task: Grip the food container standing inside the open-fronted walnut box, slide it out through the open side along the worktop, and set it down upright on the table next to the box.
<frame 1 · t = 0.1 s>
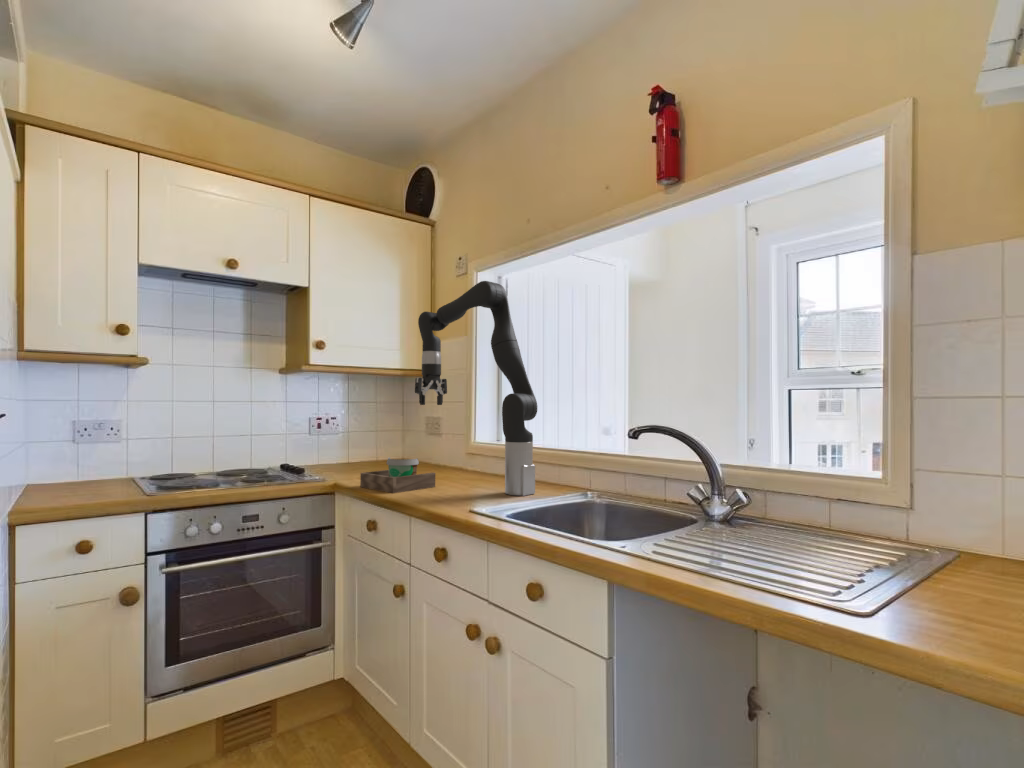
hand: (431, 404, 210), 29 cm above the counter, fingers open, 8 cm apart
walnut box: (399, 486, 193), on the counter
food container: (399, 487, 193), on the counter
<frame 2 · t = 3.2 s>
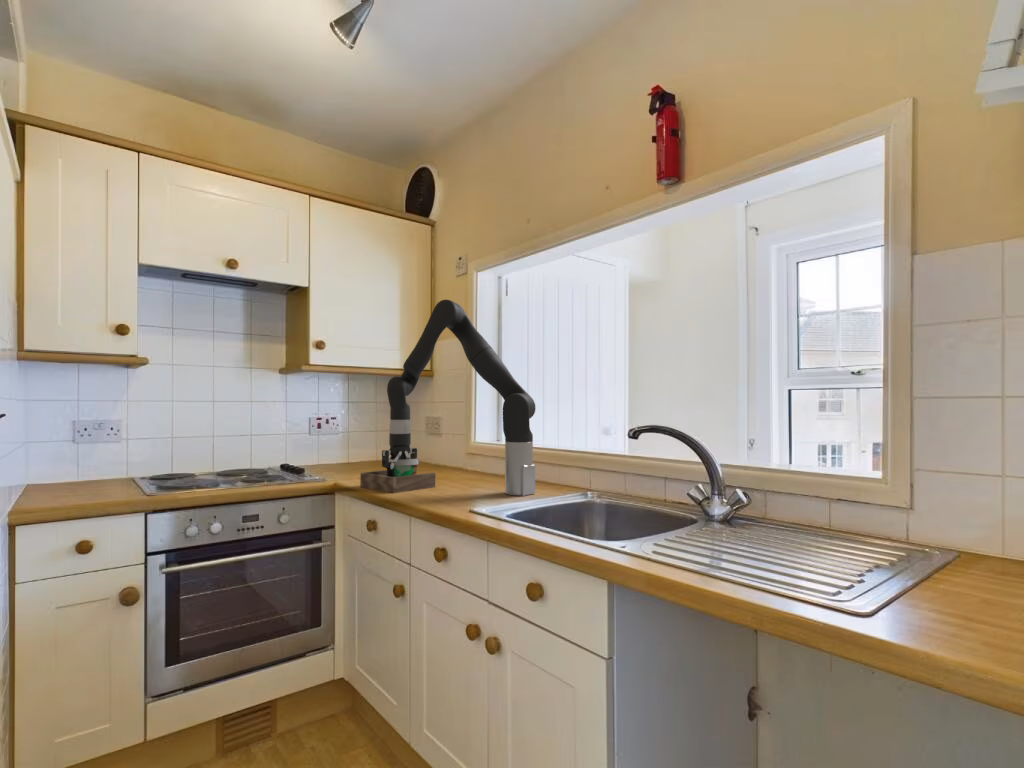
hand: (399, 478, 194), 3 cm above the counter, fingers open, 7 cm apart
food container: (399, 487, 193), on the counter, touching gripper
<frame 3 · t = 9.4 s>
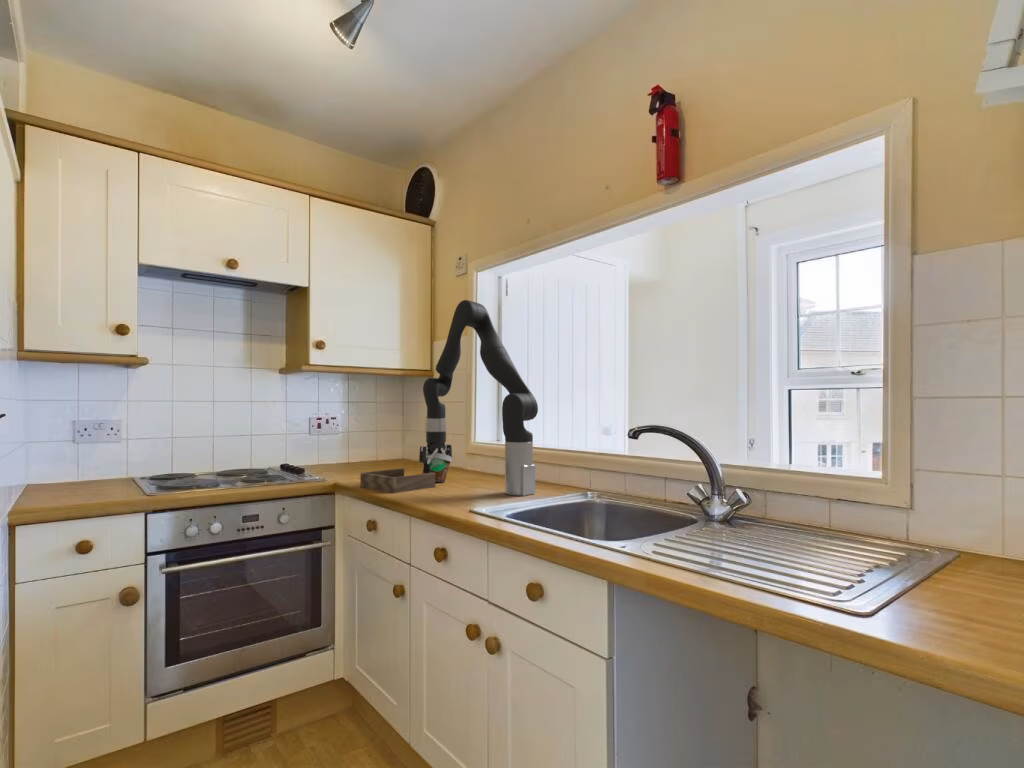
hand: (435, 472, 206), 3 cm above the counter, fingers open, 8 cm apart
food container: (429, 480, 203), point 1 cm above the counter, touching gripper
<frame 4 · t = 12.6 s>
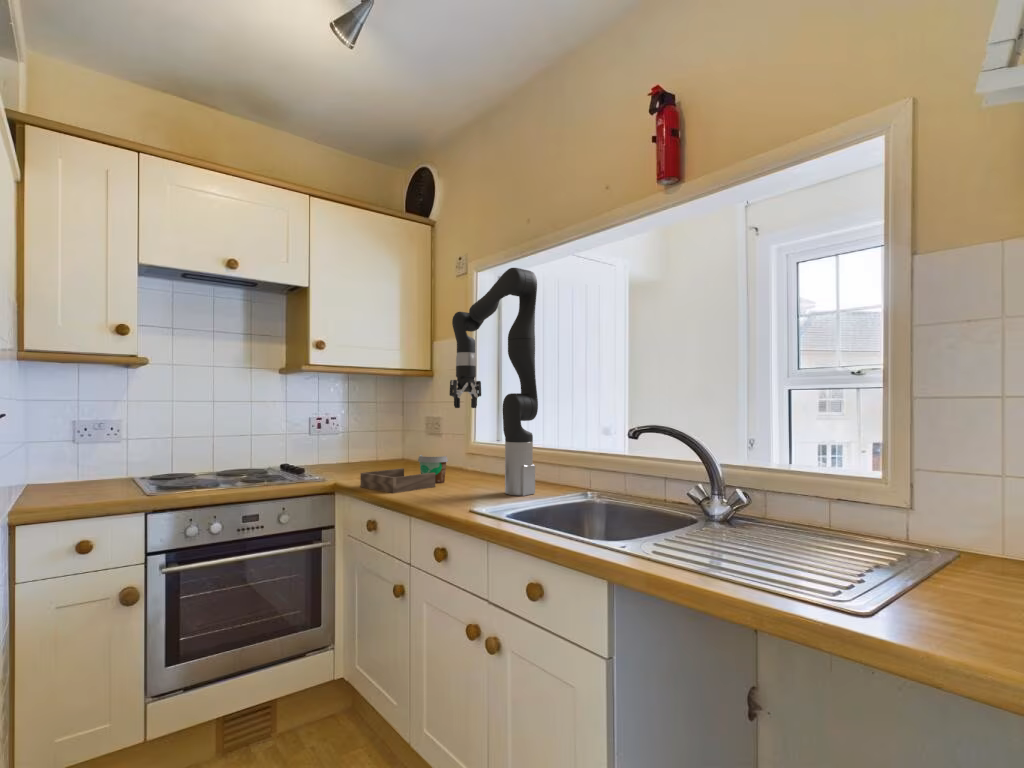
hand: (465, 408, 203), 28 cm above the counter, fingers open, 8 cm apart
food container: (429, 483, 203), on the counter
at the end: food container inside the target area on the counter beside the walnut box (4.0 cm from its centre), on the counter; food container tilted 0°; the gripper is holding nothing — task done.
